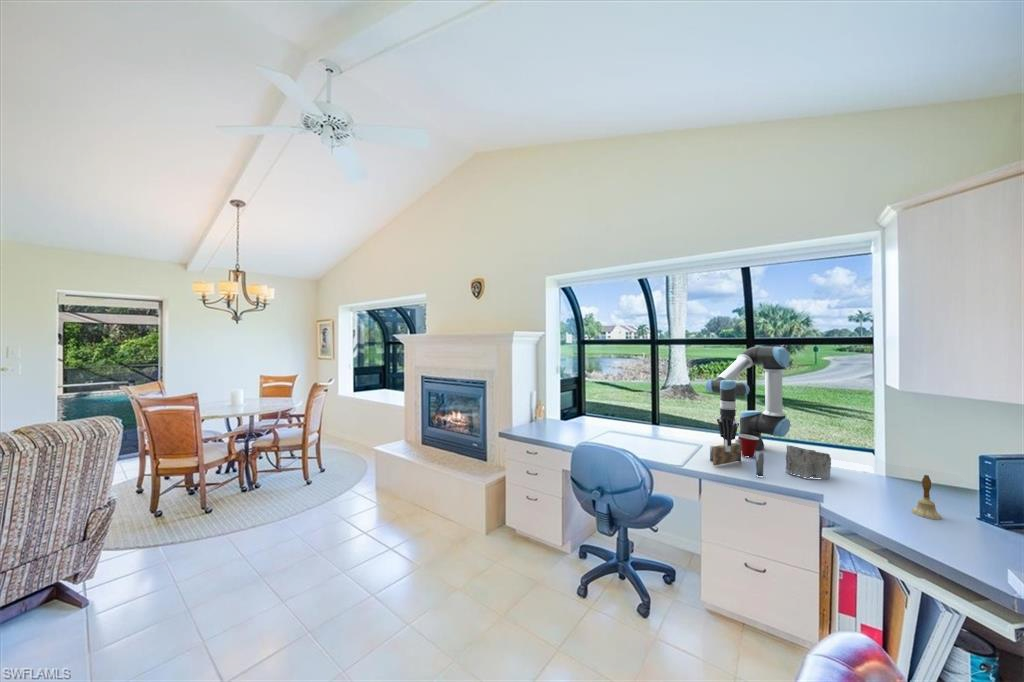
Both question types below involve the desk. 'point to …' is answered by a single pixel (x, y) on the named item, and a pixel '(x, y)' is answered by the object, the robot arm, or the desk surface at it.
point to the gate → (726, 454)
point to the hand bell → (926, 502)
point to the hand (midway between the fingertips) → (727, 451)
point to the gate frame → (758, 464)
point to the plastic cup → (748, 444)
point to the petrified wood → (808, 463)
